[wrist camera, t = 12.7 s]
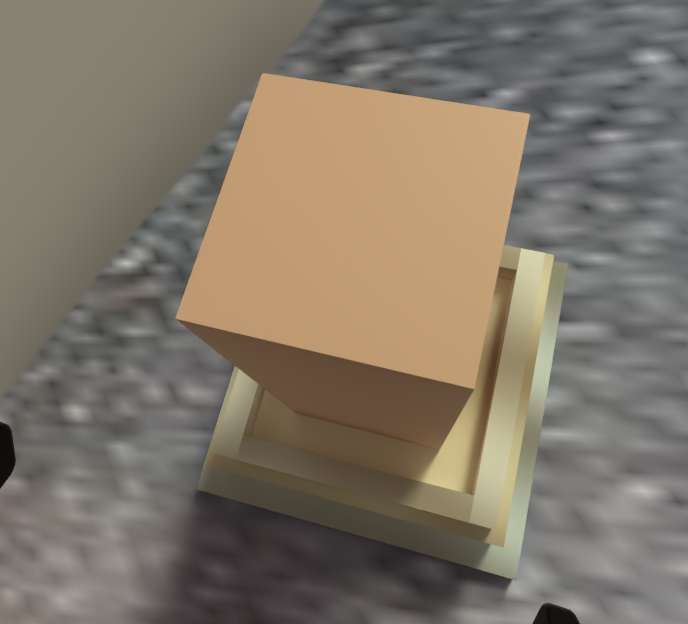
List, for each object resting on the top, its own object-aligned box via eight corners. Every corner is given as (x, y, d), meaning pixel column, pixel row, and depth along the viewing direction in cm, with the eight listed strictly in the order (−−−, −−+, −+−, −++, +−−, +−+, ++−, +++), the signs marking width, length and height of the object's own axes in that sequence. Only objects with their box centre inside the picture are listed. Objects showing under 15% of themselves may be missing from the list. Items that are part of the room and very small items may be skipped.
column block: (439, 449, 20) (474, 389, 9) (294, 412, 20) (175, 318, 10) (470, 308, 21) (530, 113, 10) (333, 279, 22) (262, 72, 11)
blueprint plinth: (513, 578, 21) (537, 596, 17) (200, 489, 23) (156, 486, 19) (564, 269, 24) (595, 222, 20) (286, 216, 26) (264, 163, 22)
